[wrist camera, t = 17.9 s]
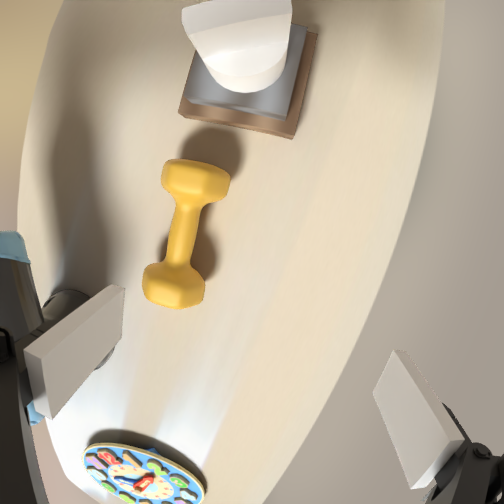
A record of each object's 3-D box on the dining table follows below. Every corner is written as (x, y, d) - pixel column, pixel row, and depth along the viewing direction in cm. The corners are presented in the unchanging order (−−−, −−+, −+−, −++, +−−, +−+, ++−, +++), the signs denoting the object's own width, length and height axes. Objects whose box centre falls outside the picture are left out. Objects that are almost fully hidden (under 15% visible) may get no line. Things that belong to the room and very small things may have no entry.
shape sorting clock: (135, 506, 64) (130, 520, 58) (66, 437, 58) (55, 452, 52) (228, 501, 59) (225, 519, 53) (158, 425, 54) (149, 445, 48)
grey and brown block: (185, 118, 41) (168, 106, 33) (212, 27, 37) (201, 1, 29) (292, 139, 41) (297, 130, 33) (313, 45, 37) (322, 21, 29)
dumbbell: (175, 156, 42) (156, 152, 34) (238, 171, 42) (230, 169, 34) (149, 281, 47) (128, 300, 39) (206, 298, 47) (194, 321, 39)
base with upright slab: (275, 20, 30) (277, -36, 18) (294, 84, 32) (305, 42, 20) (201, 36, 31) (174, -15, 19) (215, 100, 33) (190, 66, 21)
